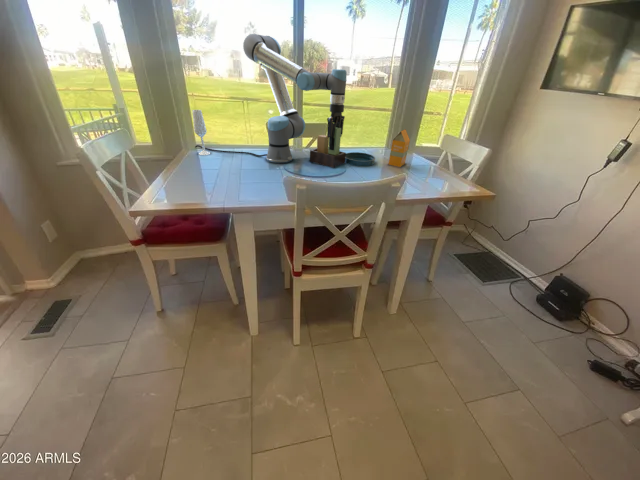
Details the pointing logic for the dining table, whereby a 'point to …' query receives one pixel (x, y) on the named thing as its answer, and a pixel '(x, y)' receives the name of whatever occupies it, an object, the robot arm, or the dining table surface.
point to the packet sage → (336, 142)
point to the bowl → (359, 159)
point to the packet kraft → (323, 144)
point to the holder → (327, 158)
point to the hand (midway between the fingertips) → (333, 148)
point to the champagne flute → (199, 128)
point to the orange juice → (399, 149)
